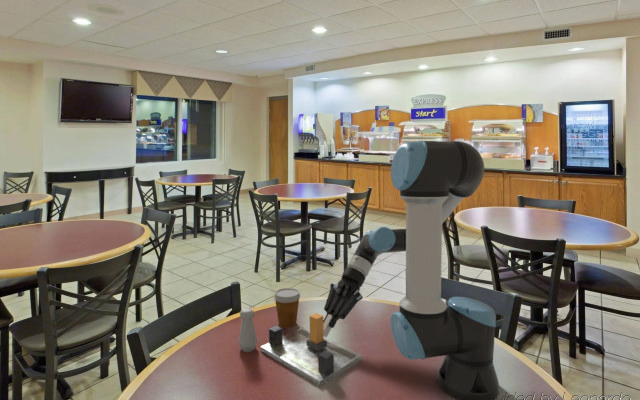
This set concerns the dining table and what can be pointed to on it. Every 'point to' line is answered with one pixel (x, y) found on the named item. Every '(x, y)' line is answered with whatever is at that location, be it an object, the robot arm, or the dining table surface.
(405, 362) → the dining table surface
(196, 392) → the dining table surface
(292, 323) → the disposable coffee cup
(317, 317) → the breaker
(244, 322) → the salt shaker
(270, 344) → the tray
